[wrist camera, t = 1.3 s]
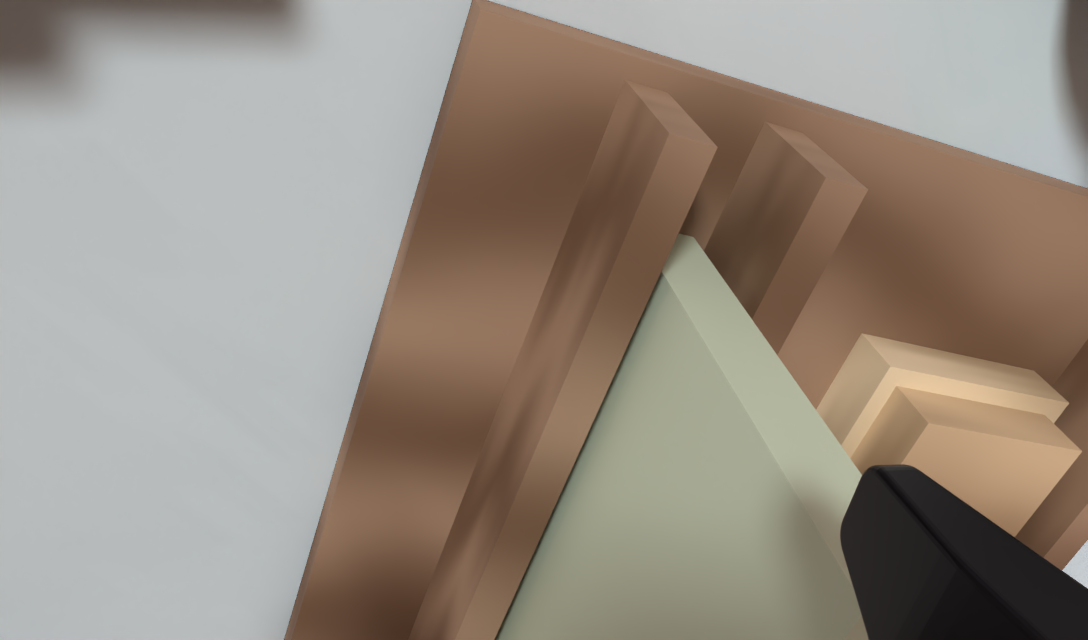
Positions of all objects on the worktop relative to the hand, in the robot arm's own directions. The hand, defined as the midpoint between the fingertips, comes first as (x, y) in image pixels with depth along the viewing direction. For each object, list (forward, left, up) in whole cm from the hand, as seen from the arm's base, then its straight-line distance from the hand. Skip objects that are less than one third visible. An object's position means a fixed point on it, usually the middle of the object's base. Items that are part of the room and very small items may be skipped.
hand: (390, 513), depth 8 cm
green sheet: (-9, -7, -12) cm, 16 cm away
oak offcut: (-8, -17, -10) cm, 21 cm away
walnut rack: (-9, -12, -13) cm, 20 cm away
